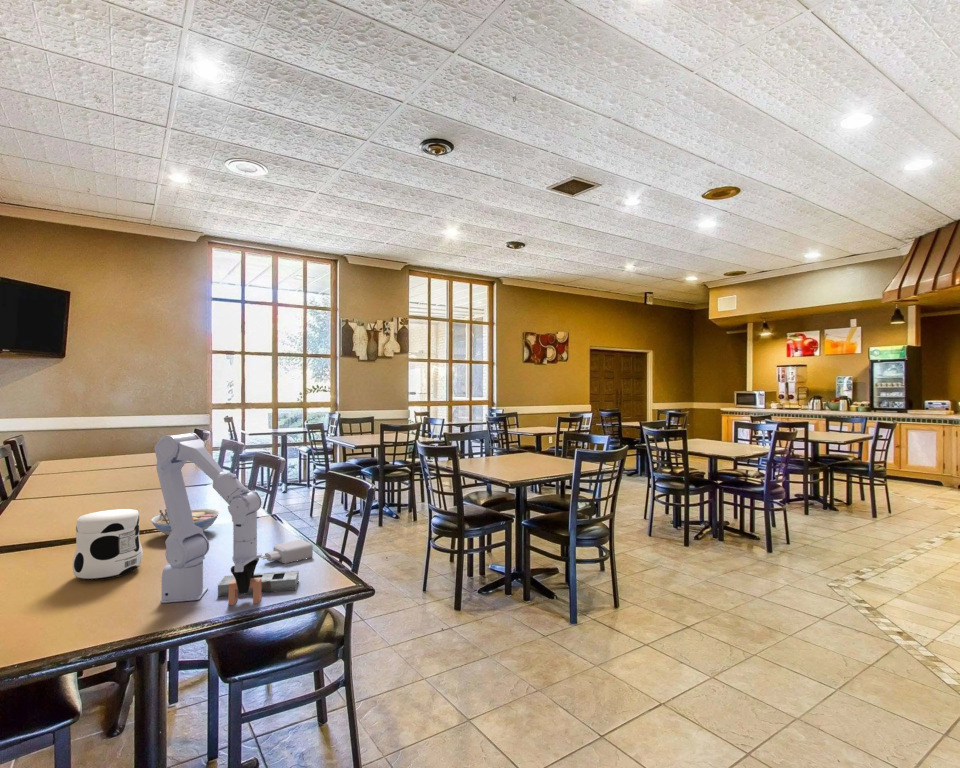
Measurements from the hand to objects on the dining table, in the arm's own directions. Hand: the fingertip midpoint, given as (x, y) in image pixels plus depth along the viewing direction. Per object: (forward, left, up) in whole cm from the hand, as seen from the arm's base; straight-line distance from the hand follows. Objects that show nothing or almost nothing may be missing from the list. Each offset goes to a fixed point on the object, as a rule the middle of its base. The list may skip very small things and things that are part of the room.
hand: (245, 589), depth 137 cm
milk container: (-45, +30, -3) cm, 54 cm away
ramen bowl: (-36, +70, -3) cm, 79 cm away
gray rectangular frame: (+2, +9, -3) cm, 9 cm away
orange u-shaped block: (0, 0, -3) cm, 3 cm away
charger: (+5, +32, -3) cm, 33 cm away
